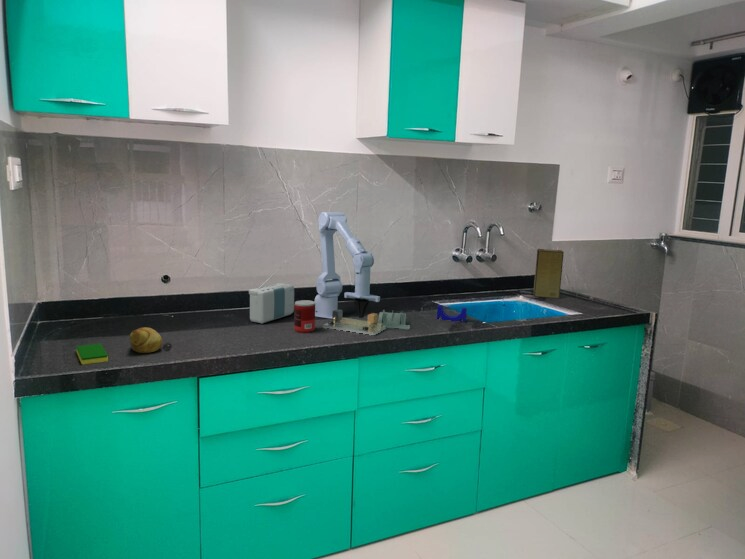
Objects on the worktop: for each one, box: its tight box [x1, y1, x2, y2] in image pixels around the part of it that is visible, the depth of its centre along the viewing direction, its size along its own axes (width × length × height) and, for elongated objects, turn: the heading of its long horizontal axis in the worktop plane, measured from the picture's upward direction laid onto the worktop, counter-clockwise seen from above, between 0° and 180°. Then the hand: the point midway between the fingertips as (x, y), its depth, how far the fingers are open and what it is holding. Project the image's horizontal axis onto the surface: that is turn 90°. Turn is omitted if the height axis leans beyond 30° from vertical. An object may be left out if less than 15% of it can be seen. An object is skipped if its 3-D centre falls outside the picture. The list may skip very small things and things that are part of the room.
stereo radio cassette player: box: [248, 267, 295, 325], centre depth 226 cm, size 21×8×20 cm, turn 152°
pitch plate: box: [322, 308, 388, 336], centre depth 217 cm, size 22×12×6 cm, turn 66°
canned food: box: [293, 299, 316, 334], centre depth 211 cm, size 8×8×11 cm
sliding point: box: [367, 312, 379, 327], centre depth 216 cm, size 2×5×4 cm, turn 156°
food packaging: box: [532, 248, 564, 300], centre depth 297 cm, size 13×9×25 cm
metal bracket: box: [377, 309, 411, 330], centre depth 226 cm, size 14×6×15 cm
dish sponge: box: [76, 343, 109, 366], centre depth 172 cm, size 7×14×2 cm, turn 34°
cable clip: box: [436, 304, 468, 323], centre depth 237 cm, size 12×4×6 cm, turn 71°
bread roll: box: [129, 326, 163, 354], centre depth 181 cm, size 13×10×8 cm
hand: (361, 317), depth 219 cm, fingers closed
